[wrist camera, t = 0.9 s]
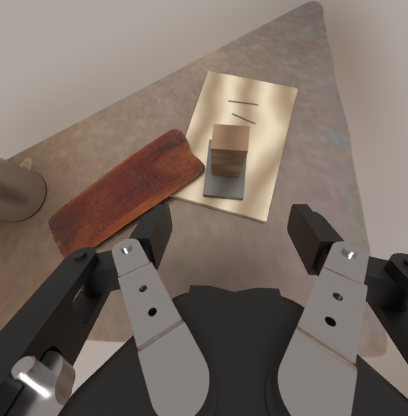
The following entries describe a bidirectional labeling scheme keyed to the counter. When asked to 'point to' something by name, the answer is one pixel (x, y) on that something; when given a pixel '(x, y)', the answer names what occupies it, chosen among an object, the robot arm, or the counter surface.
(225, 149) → the block
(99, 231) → the wooden tablet
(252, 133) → the birch board
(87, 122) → the counter surface
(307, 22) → the counter surface
